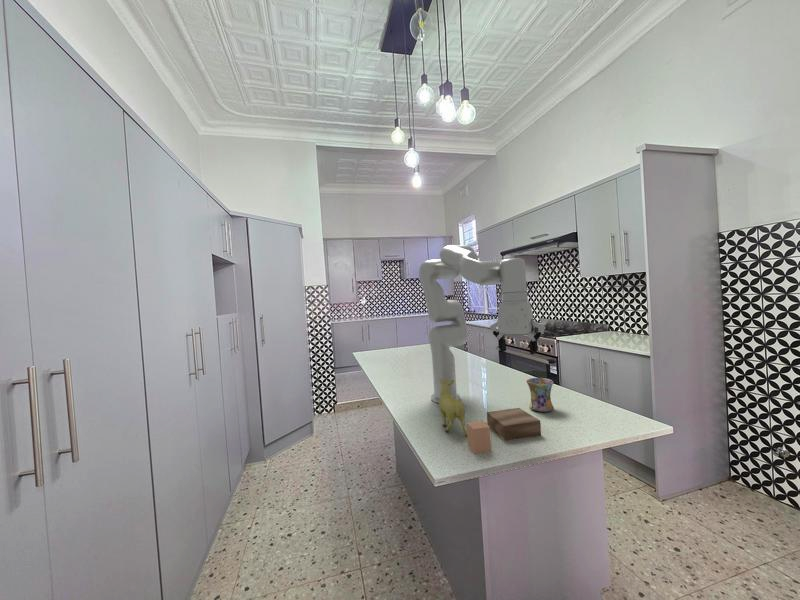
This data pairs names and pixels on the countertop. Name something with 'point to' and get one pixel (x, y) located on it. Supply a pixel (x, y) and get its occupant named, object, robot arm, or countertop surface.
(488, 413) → the walnut box
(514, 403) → the countertop surface
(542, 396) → the mug
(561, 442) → the countertop surface
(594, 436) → the countertop surface
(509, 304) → the robot arm
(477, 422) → the terracotta block
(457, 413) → the toy
